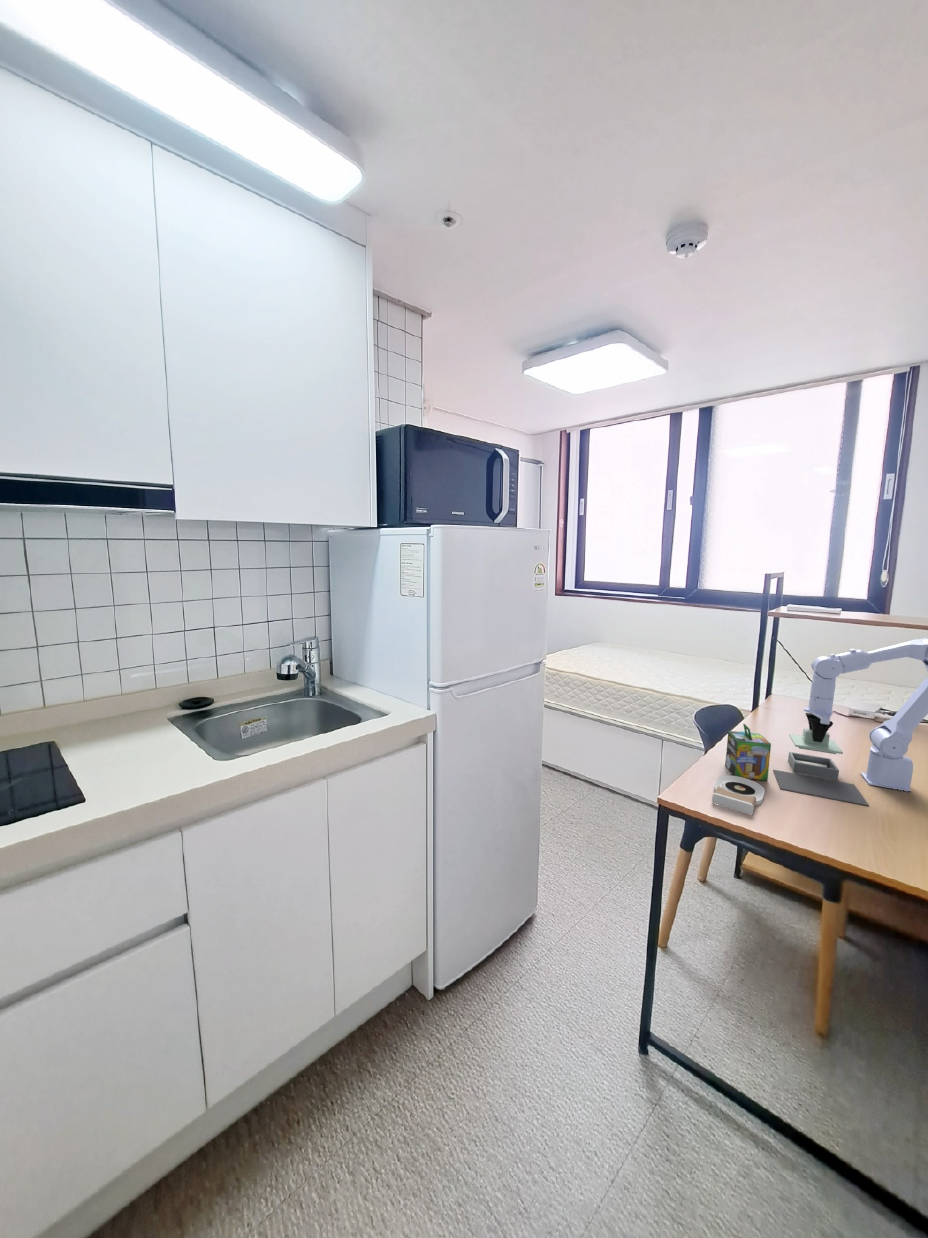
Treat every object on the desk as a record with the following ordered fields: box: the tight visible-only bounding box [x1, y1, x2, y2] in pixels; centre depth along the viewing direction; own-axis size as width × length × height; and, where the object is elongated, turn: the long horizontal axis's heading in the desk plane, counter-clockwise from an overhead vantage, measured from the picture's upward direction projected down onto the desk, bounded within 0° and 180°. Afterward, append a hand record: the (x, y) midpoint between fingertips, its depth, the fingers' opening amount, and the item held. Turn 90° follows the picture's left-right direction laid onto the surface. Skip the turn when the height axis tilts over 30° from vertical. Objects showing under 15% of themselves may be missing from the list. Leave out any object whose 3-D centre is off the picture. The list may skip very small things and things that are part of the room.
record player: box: [711, 774, 765, 816], centre depth 133 cm, size 12×3×20 cm
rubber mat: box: [772, 769, 870, 807], centre depth 138 cm, size 20×13×1 cm, turn 65°
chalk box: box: [724, 723, 772, 781], centre depth 145 cm, size 9×9×15 cm
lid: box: [789, 728, 844, 755], centre depth 147 cm, size 12×10×5 cm
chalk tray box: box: [787, 751, 840, 781], centre depth 148 cm, size 11×9×4 cm
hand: (816, 739), depth 147 cm, fingers closed on lid, 3 cm apart
